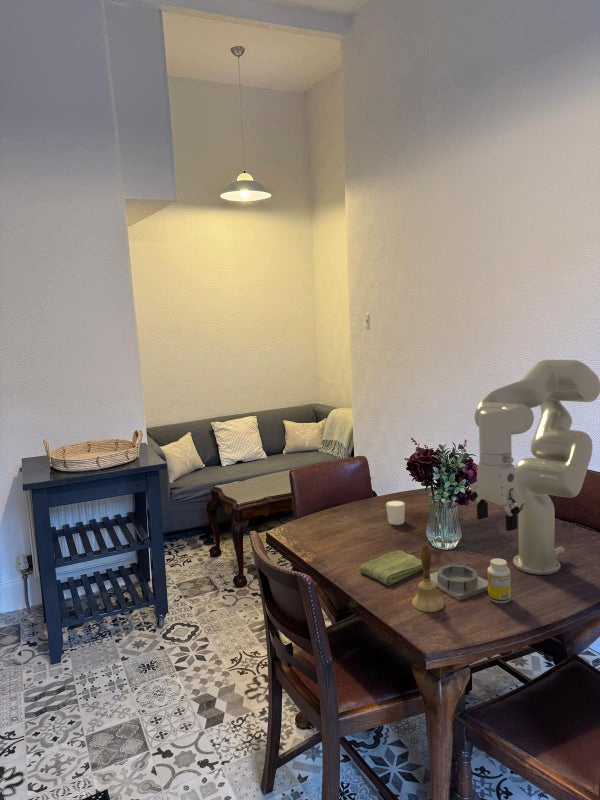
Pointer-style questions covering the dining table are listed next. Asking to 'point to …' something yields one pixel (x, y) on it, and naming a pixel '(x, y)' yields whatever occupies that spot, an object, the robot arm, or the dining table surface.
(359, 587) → the dining table surface
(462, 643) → the dining table surface
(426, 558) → the hand bell
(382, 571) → the washcloth
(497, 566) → the supplement bottle
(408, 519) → the dining table surface
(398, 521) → the white tapered cup
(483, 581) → the grey octagonal holder base
